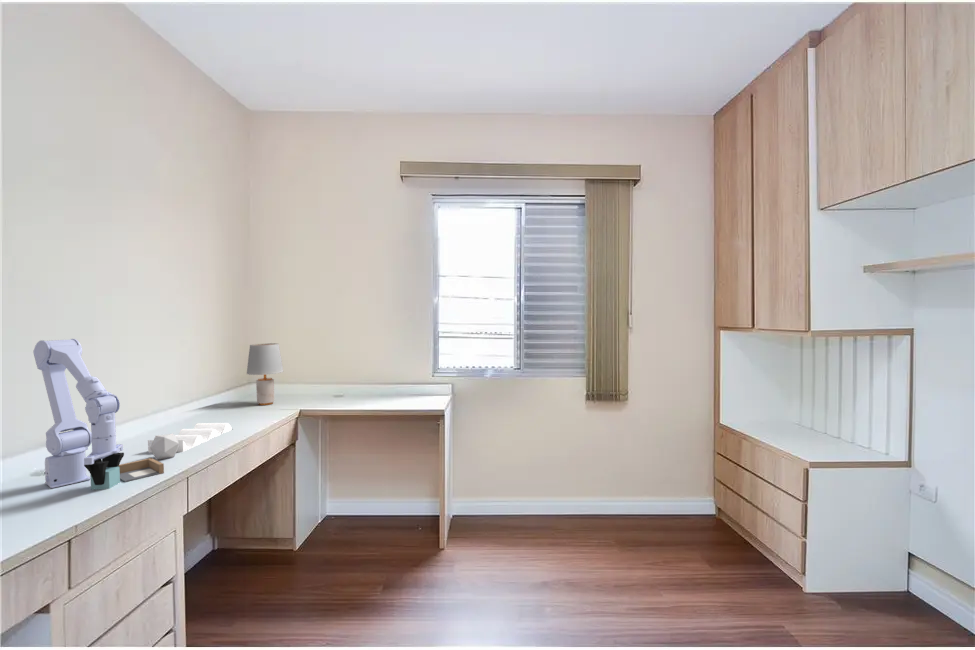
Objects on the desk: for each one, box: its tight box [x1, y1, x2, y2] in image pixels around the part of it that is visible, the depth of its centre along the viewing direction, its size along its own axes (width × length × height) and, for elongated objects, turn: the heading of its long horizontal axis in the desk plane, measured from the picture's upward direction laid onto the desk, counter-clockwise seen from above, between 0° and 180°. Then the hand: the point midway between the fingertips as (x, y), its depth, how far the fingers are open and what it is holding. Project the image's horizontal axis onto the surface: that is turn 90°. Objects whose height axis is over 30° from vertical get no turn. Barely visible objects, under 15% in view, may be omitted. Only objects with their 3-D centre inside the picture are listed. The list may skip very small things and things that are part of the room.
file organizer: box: [147, 422, 234, 453], centre depth 199 cm, size 13×35×5 cm, turn 179°
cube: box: [89, 467, 121, 490], centre depth 146 cm, size 5×5×5 cm
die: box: [150, 433, 179, 461], centre depth 175 cm, size 8×9×10 cm
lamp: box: [246, 342, 284, 406], centre depth 276 cm, size 19×19×34 cm
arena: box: [119, 457, 165, 483], centre depth 156 cm, size 10×11×3 cm
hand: (105, 481), depth 146 cm, fingers closed on cube, 5 cm apart
